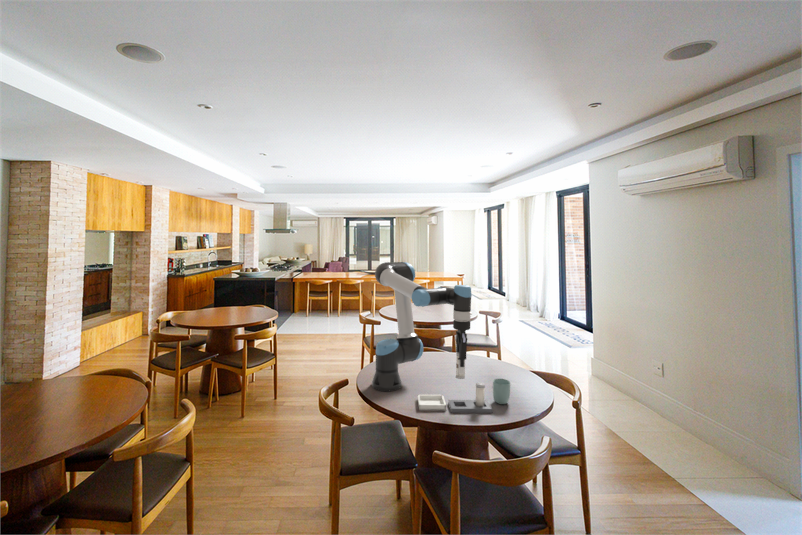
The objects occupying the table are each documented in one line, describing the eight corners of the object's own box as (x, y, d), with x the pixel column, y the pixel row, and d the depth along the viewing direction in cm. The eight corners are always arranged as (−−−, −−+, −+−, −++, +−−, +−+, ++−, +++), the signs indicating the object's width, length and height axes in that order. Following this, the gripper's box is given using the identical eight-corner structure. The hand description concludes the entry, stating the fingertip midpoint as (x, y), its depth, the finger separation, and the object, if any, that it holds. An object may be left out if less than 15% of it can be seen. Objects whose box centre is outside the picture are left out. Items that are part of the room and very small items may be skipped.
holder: (451, 412, 153) (451, 408, 152) (448, 403, 162) (448, 399, 161) (492, 412, 153) (492, 408, 153) (487, 403, 162) (487, 400, 162)
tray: (419, 410, 154) (419, 405, 154) (417, 399, 165) (417, 394, 165) (446, 410, 155) (446, 405, 154) (442, 399, 166) (442, 394, 165)
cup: (489, 403, 163) (490, 381, 162) (496, 397, 169) (497, 377, 168) (506, 407, 158) (506, 386, 158) (512, 402, 164) (512, 381, 164)
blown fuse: (456, 379, 155) (457, 354, 154) (455, 375, 159) (455, 351, 158) (465, 379, 155) (466, 354, 154) (463, 375, 159) (464, 352, 158)
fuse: (476, 410, 155) (476, 385, 155) (474, 406, 159) (474, 382, 159) (485, 410, 155) (485, 386, 155) (483, 406, 159) (483, 382, 159)
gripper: (474, 324, 147) (473, 378, 148) (466, 316, 164) (465, 365, 165) (456, 324, 147) (455, 378, 148) (450, 316, 163) (449, 365, 165)
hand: (460, 371), depth 156 cm, fingers closed on blown fuse, 4 cm apart
